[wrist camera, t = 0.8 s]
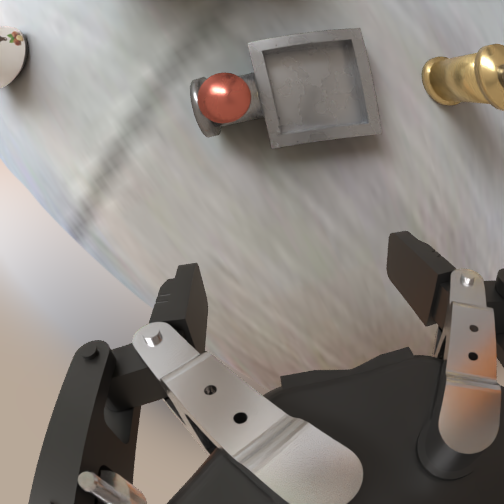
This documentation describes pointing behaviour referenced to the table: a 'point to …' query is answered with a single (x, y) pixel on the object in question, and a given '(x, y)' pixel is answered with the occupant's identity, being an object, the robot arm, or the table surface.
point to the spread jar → (11, 54)
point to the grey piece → (295, 90)
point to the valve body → (467, 78)
